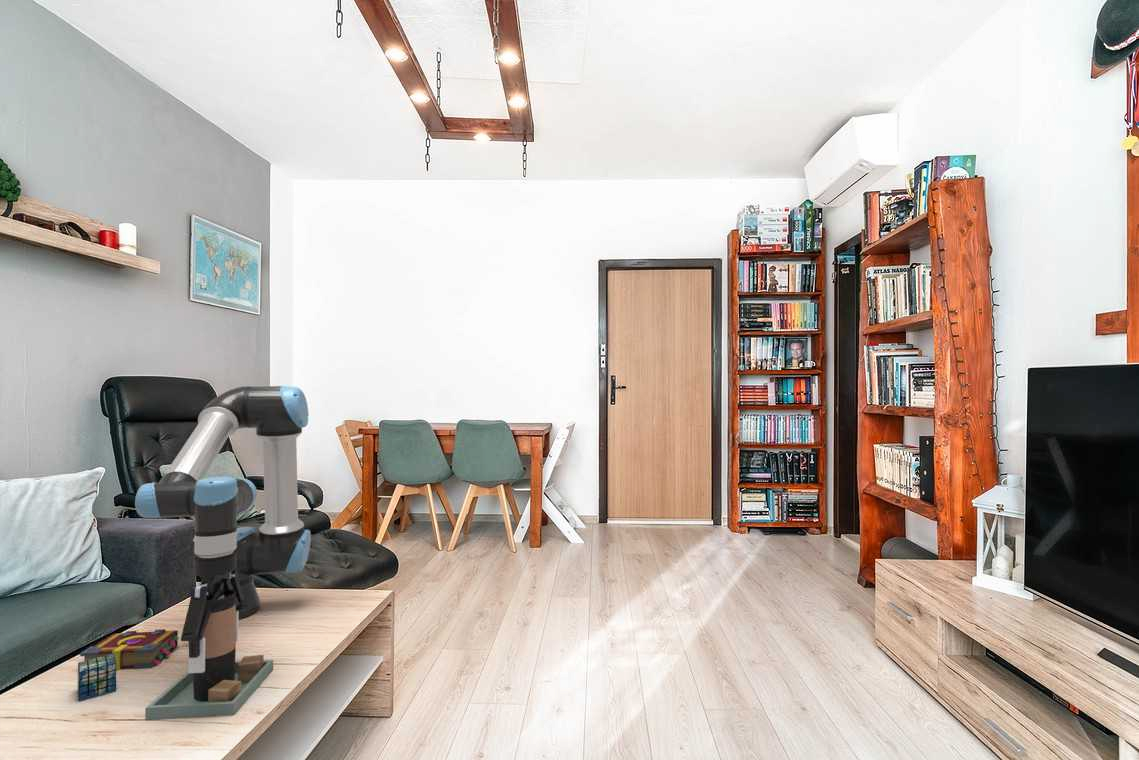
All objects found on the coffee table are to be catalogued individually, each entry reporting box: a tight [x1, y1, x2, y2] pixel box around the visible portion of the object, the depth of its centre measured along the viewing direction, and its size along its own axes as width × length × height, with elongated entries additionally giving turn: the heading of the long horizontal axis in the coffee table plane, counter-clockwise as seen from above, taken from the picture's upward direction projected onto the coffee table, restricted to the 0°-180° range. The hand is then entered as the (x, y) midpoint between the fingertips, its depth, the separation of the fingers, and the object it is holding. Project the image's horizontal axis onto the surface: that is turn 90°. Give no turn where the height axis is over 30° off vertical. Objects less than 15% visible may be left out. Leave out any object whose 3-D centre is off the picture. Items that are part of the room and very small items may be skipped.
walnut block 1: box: [208, 680, 242, 703], centre depth 114 cm, size 4×4×4 cm
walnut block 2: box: [238, 654, 265, 683], centre depth 125 cm, size 4×4×4 cm
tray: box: [144, 659, 274, 721], centre depth 119 cm, size 18×16×3 cm
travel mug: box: [193, 590, 237, 701], centre depth 119 cm, size 8×8×20 cm
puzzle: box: [77, 654, 117, 702], centre depth 121 cm, size 6×6×6 cm
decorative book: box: [79, 629, 180, 671], centre depth 136 cm, size 11×16×5 cm
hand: (214, 656), depth 119 cm, fingers open, 13 cm apart
